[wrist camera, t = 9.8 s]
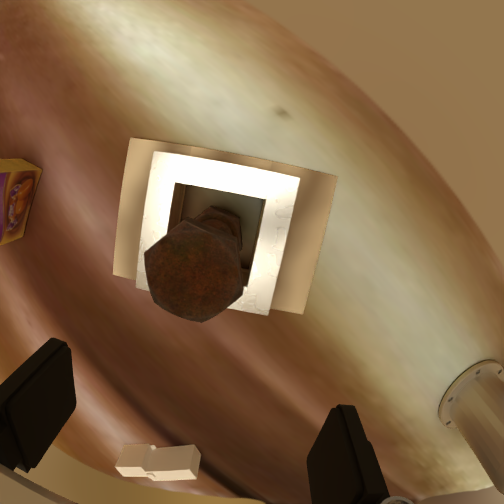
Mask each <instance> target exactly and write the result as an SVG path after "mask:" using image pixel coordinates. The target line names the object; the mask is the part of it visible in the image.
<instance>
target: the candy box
mask: <svg viewBox="0 0 504 504" xmlns="http://www.w3.org/2000/svg"><path fill="white" fill-rule="evenodd" d="M41 173H42V169H40V168H38V167H36V166H35V165H33V164H31V163H29V162H27V161H26V160H24V159H0V246H1V245H3V244H6V243H8V242H11V241H13V240H16V239H19V238H21V237H23V235H24V230H25V225H26V221H27V218H28V214H29V210H30V206H31V203H32V200H33V196H34V193H35V190H36V187H37V184H38V181H39V178H40V175H41Z"/></svg>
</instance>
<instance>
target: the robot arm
mask: <svg viewBox="0 0 504 504" xmlns="http://www.w3.org/2000/svg"><path fill="white" fill-rule="evenodd" d="M75 408H76V394H75V386H74V378H73V368H72V356H71V349H70V348H69V347H68V345H67V343H66V342H64V341H61V340H59V339H56V338H50V339H49V340H48V341H47V342H46V343H45V344H44V345H43V346H41V347H40V348H39V349H38V350H37V351H36V352H35V353H34V354H33V355H32V356H31V357H29V358H28V359H27V360H26V361H25V362H24V363H23V364H22V365H21V366H20V367H19V368H18V369H17V370H16V371H14V372H13V373H12V374H11V375H10V376H9V377H8V378H7V379H6V380H5V381H4V382H3V383H2V384H1V385H0V504H78V503H75V502H73V501H70V500H68V499H66V498H64V497H62V496H60V495H57V494H55V493H53V492H51V491H49V490H47V489H45V488H43V487H41V486H39V485H37V484H35V483H34V482H32V481H30V480H28V479H26V478H24V477H22V476H21V475H19V474H17V473H15V472H14V469H15V468H16V467H17V468H19V469H21V470H23V471H24V472H26V473H28V472H29V470H30V469H31V468H35V467H36V466H37V465H38V463H39V462H40V460H41V459H42V457H43V455H44V454H45V453H46V451H47V450H48V448H49V447H50V445H51V444H52V442H53V441H54V439H55V438H56V436H57V435H58V433H59V432H60V430H61V429H62V427H63V426H64V424H65V423H66V422H67V420H68V419H69V417H70V416H71V414H72V413H73V411H74V410H75ZM439 418H440V420H441V422H442V424H443V425H444V426H446V427H448V428H458V429H459V431H460V432H461V434H462V435H463V437H464V438H465V440H466V441H467V443H468V444H469V446H470V447H471V449H472V450H473V452H474V454H475V455H476V457H477V458H478V460H479V461H480V463H481V465H482V466H483V468H484V469H485V471H486V473H487V474H488V476H489V478H490V479H491V481H492V482H493V484H494V486H495V487H496V488H497V490H498V491H499V492H500V493H502V494H503V495H504V369H503V367H502V366H501V365H500V364H499V363H498V362H496V361H493V360H487V361H483V362H481V363H478V364H476V365H474V366H473V367H471V368H469V369H468V370H467V371H465V372H464V373H463V374H462V375H461V376H460V377H459V378H458V379H457V380H456V381H455V382H454V383H453V384H452V385H451V387H450V388H449V389H448V391H447V392H446V394H445V396H444V397H443V399H442V402H441V404H440V408H439ZM307 470H308V477H309V484H310V492H311V500H312V504H414V503H413V502H412V501H410V500H408V499H407V498H404V497H399V496H393V497H390V495H389V492H388V489H387V486H386V483H385V480H384V478H383V475H382V472H381V469H380V466H379V463H378V460H377V458H376V455H375V452H374V449H373V447H372V444H371V442H369V441H367V438H366V435H365V432H364V430H363V427H362V424H361V421H360V418H359V416H358V413H357V410H356V408H355V406H353V405H341V404H339V405H337V406H336V408H332V409H331V410H330V412H329V415H328V417H327V419H326V421H325V423H324V425H323V427H322V429H321V431H320V433H319V435H318V437H317V439H316V441H315V443H314V445H313V447H312V448H311V450H310V452H309V454H308V457H307Z"/></svg>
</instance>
